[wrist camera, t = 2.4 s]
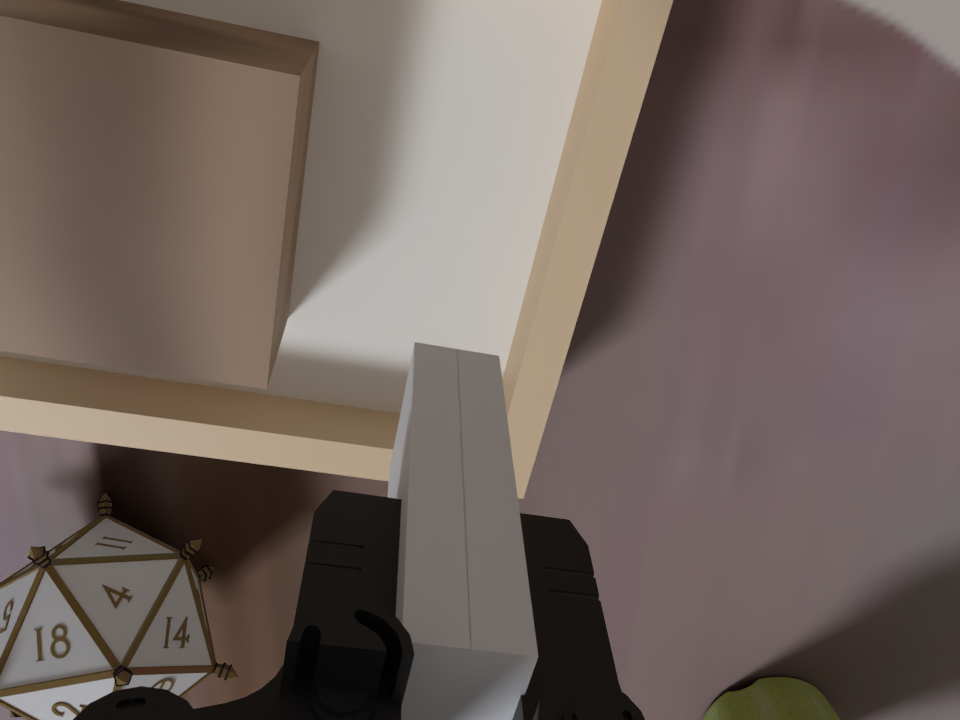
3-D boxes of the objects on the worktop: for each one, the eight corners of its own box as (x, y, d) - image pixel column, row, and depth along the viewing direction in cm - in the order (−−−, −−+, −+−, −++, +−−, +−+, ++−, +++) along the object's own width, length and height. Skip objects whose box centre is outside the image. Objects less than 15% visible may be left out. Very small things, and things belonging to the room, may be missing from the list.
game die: (174, 456, 36) (235, 501, 27) (223, 641, 37) (296, 739, 29) (-71, 530, 32) (-90, 611, 23) (-5, 736, 33) (0, 885, 24)
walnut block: (3, 273, 24) (-67, 341, 21) (-18, -29, 20) (-107, -7, 17) (287, 318, 26) (266, 389, 22) (319, 41, 22) (299, 76, 18)
